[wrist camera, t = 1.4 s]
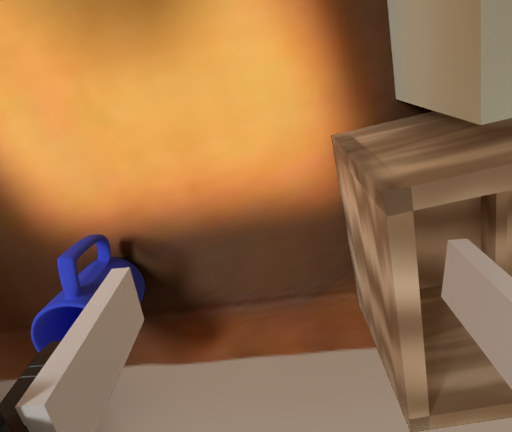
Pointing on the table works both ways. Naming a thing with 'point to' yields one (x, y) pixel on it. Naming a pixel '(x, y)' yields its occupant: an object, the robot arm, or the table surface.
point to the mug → (78, 289)
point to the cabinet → (427, 254)
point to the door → (454, 56)
